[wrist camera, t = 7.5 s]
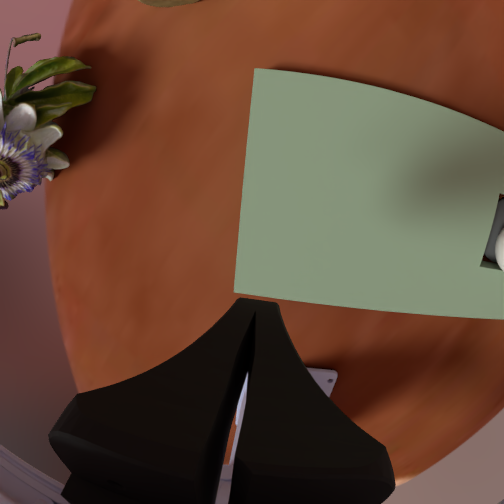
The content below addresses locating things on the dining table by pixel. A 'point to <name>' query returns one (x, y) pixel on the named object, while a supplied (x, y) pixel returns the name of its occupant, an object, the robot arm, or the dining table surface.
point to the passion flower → (35, 121)
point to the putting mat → (369, 200)
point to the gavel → (167, 2)
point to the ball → (500, 249)
